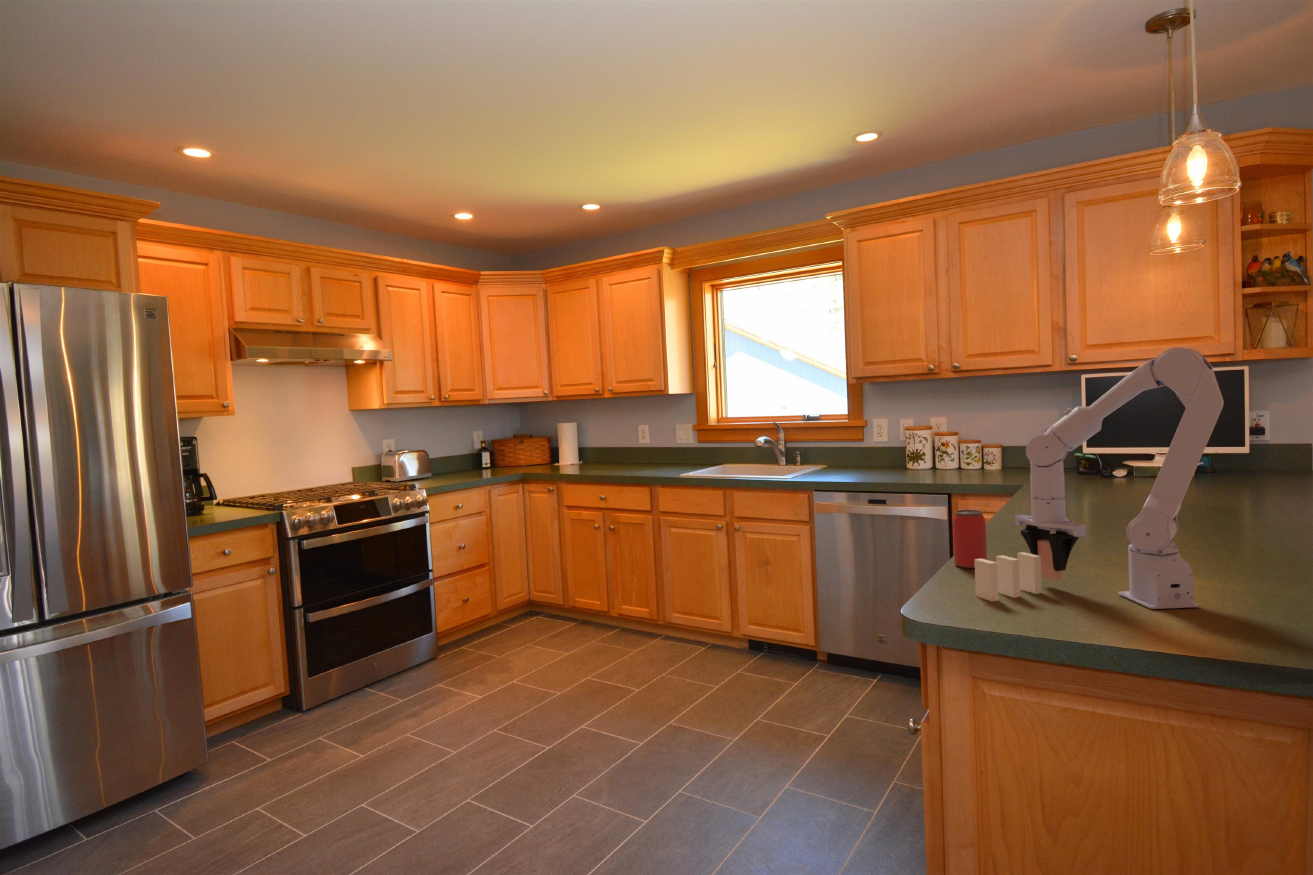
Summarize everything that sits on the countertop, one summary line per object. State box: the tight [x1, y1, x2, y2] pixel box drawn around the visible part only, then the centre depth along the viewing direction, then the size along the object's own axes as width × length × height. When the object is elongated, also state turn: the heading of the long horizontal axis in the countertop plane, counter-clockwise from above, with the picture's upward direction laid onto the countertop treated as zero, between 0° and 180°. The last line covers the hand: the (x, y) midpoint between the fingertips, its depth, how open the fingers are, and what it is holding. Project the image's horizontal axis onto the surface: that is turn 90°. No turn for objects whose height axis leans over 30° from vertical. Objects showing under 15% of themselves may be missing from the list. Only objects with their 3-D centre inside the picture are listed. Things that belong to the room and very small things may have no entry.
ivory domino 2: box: [995, 555, 1021, 599], centre depth 132 cm, size 2×4×7 cm, turn 17°
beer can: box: [952, 509, 988, 570], centre depth 154 cm, size 7×7×12 cm
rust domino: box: [1037, 539, 1063, 581], centre depth 134 cm, size 2×4×7 cm, turn 17°
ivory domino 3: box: [1016, 551, 1043, 595], centre depth 133 cm, size 2×4×7 cm, turn 17°
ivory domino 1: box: [974, 558, 999, 602], centre depth 130 cm, size 2×4×7 cm, turn 17°
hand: (1049, 567), depth 135 cm, fingers closed on rust domino, 4 cm apart
